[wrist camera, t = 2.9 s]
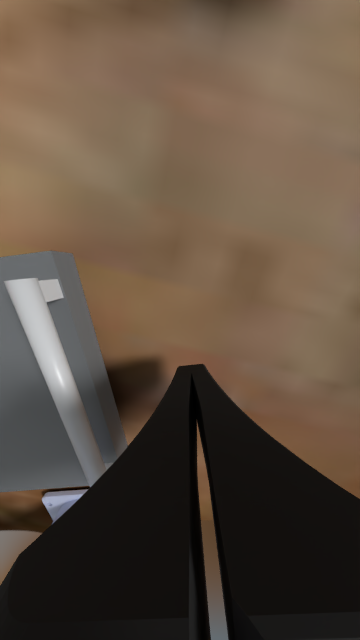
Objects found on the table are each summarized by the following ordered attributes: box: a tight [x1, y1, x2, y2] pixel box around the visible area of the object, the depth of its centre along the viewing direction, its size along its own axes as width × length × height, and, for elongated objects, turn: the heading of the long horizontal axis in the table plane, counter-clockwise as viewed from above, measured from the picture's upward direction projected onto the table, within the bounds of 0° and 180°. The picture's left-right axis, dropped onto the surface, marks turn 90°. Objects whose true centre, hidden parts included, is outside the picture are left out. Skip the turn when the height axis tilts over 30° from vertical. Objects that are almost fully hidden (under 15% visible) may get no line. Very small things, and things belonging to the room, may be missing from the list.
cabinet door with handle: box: [0, 251, 128, 492], centre depth 9 cm, size 14×9×4 cm, turn 7°
